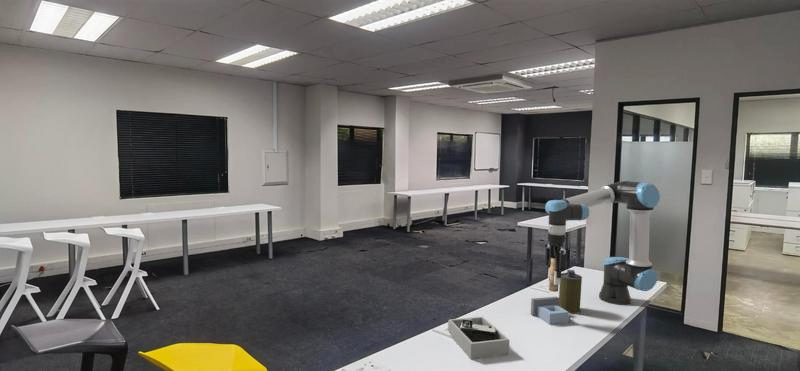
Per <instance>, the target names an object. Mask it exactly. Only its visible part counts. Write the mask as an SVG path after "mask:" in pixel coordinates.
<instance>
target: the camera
mask: <svg viewBox="0 0 800 371" xmlns="http://www.w3.org/2000/svg"><path fill="white" fill-rule="evenodd" d="M462 318H463V317H462ZM466 318H467V317H464V318H463V319H462V324H461V326H460V330H461V331H462V332H463V333H464V334H465V335H466V336H467V337H468V338H469V339H470V340H471V341H472V342H481V341H491V340H496V329H497V327H496V326H494V327H491V326H484V325H477V324H473V325H472V319H466ZM466 321H467V322H466ZM468 321H469V322H470V324H469V323H468ZM464 322H466V325H465V324H464Z"/></svg>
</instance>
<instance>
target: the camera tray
mask: <svg viewBox="0 0 800 371" xmlns="http://www.w3.org/2000/svg"><path fill="white" fill-rule="evenodd" d="M465 318H466V319H472V325H473V324H477V325H484V326H491V327H495V325H493V324H492V323H490V321H489V320H487V319H486V318H485V317H483V316H474V317H473V316H472V317H465ZM462 319H463V317H462V318H461V317H460V318H451V319H448V322H447V324H448V325H447V332H448V331H449V333H450V334H451V335H452V337H451V338H452V340H453V341H454V343H456V345H457V346H459V348H460V349H461V350H462V351H463V352H464V353H465V355H466V354H467V355H466V356H467V357H468V358H469V360H475V359H474V358H478V359H483V357H486V358H492V357H493V356H494V357H501V356H509V355H510V338H508V337H507V336H506V335H505V334H503V333H502V332H501V331H500V330H499V329H498V328H496V340H491V341H481V342H472V341H471V340H470V339H469V338H468V337H467V336H466V335H465V334H464V333H463V332H462V331H461V330H460V326H461V324H462ZM466 322H467V321H466ZM466 322H464V324H465V325H466ZM468 323H469V324H470V322H469V321H468Z"/></svg>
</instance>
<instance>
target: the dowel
mask: <svg viewBox="0 0 800 371" xmlns="http://www.w3.org/2000/svg"><path fill="white" fill-rule="evenodd" d="M555 270H556V262H555V258H551V265H550V281H549V282H548V283H549V284H548V291H550V292H552V293H553V292H554V293H555V292H556V293H557V292H559V285H554V275H555Z"/></svg>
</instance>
